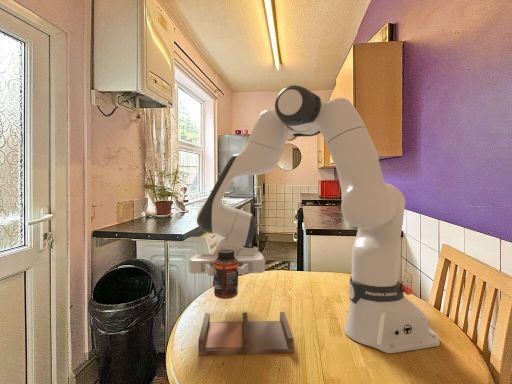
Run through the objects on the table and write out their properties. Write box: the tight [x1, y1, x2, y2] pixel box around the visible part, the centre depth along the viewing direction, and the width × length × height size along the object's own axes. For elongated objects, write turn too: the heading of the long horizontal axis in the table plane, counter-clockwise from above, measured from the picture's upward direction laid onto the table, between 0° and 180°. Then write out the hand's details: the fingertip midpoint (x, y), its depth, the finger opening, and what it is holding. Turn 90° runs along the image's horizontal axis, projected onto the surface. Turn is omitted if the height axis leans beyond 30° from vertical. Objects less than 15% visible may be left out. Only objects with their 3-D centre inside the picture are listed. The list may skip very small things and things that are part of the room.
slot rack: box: [197, 311, 294, 356], centre depth 77 cm, size 22×14×4 cm, turn 93°
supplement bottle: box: [213, 249, 239, 300], centre depth 77 cm, size 6×6×11 cm
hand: (226, 272), depth 76 cm, fingers closed on supplement bottle, 6 cm apart
